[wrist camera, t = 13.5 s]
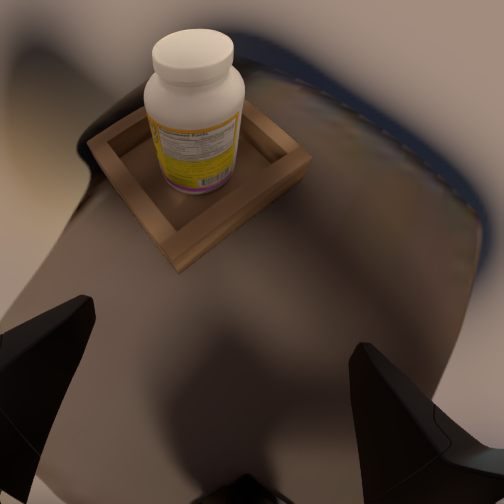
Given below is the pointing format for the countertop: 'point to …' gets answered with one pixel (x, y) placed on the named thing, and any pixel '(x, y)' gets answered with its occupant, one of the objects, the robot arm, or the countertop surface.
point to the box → (198, 205)
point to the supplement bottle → (195, 109)
